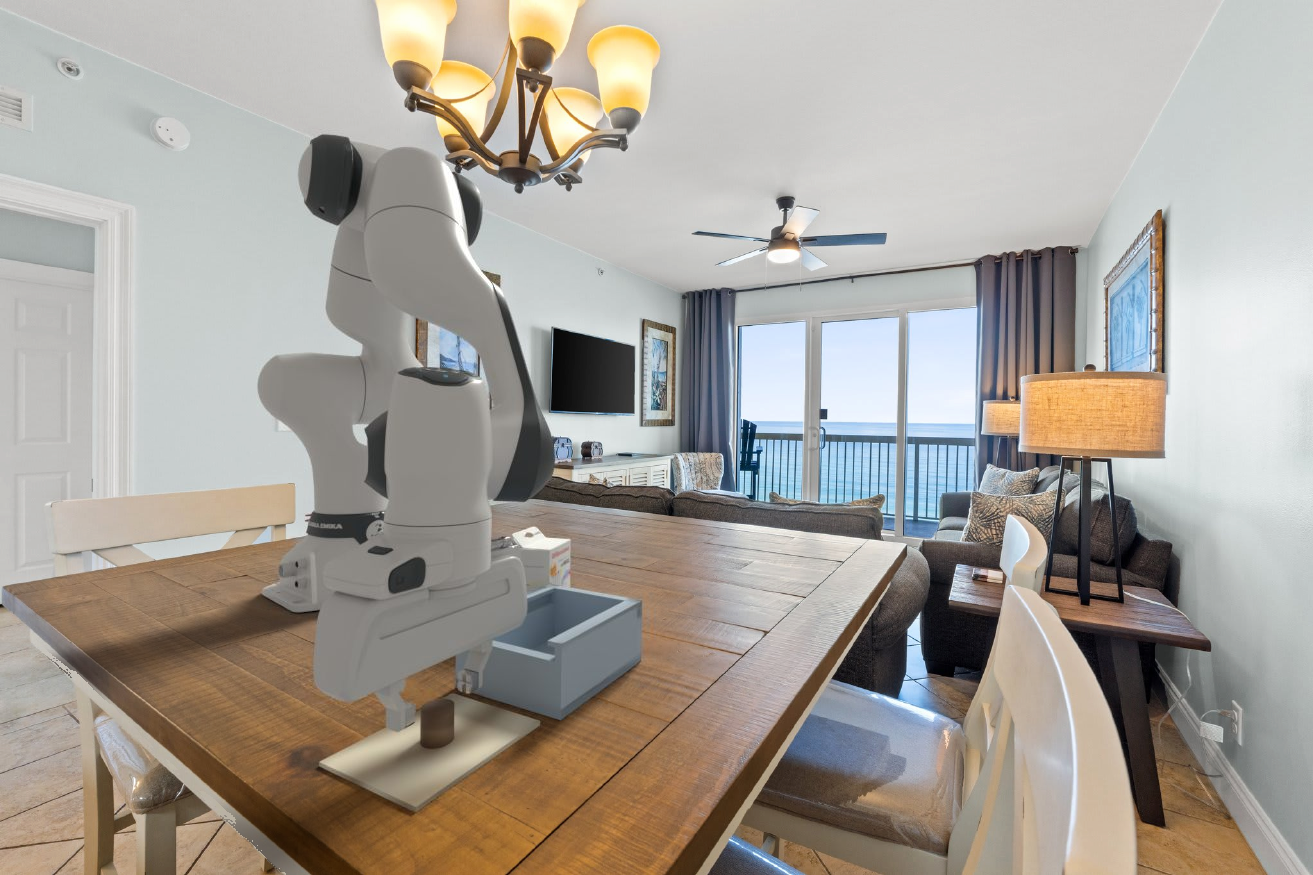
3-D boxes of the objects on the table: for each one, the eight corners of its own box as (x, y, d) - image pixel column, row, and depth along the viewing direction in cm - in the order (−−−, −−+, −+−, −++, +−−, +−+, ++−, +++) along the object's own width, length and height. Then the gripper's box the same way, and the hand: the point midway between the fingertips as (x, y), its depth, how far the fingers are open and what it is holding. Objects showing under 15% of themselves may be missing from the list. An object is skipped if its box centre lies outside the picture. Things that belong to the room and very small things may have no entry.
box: (455, 687, 61) (456, 619, 61) (548, 639, 75) (549, 583, 75) (560, 720, 55) (561, 643, 54) (641, 660, 69) (642, 600, 69)
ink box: (548, 636, 76) (550, 537, 76) (491, 630, 78) (492, 533, 78) (571, 615, 85) (572, 526, 85) (518, 611, 87) (520, 523, 86)
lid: (319, 773, 47) (319, 725, 47) (452, 702, 59) (452, 664, 59) (415, 820, 41) (416, 766, 41) (540, 731, 54) (540, 689, 54)
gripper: (496, 529, 61) (494, 658, 61) (301, 571, 42) (300, 754, 43) (543, 535, 58) (541, 670, 58) (355, 583, 40) (354, 779, 40)
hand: (437, 707), depth 50 cm, fingers open, 6 cm apart
